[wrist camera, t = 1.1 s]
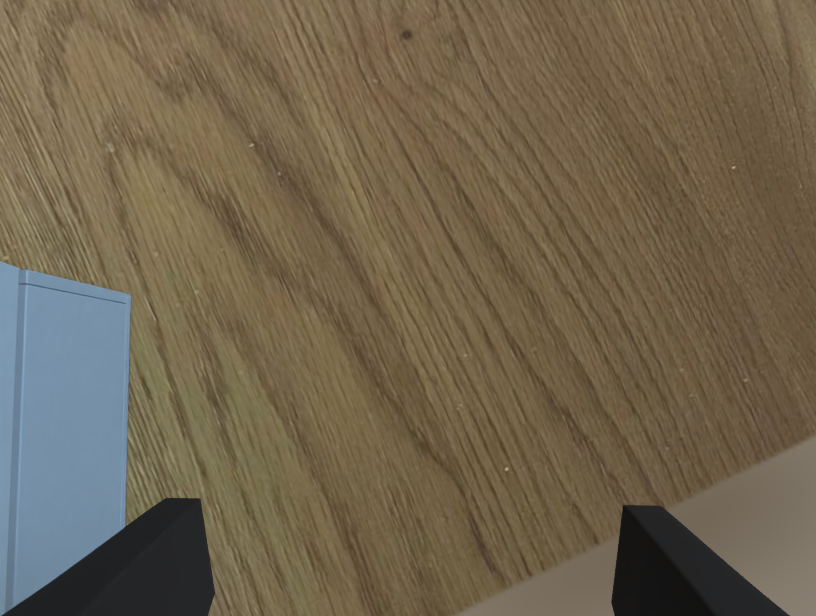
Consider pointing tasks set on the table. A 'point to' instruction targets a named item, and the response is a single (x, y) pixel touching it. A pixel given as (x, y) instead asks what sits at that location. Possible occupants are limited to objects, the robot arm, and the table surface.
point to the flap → (6, 404)
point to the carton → (66, 427)
